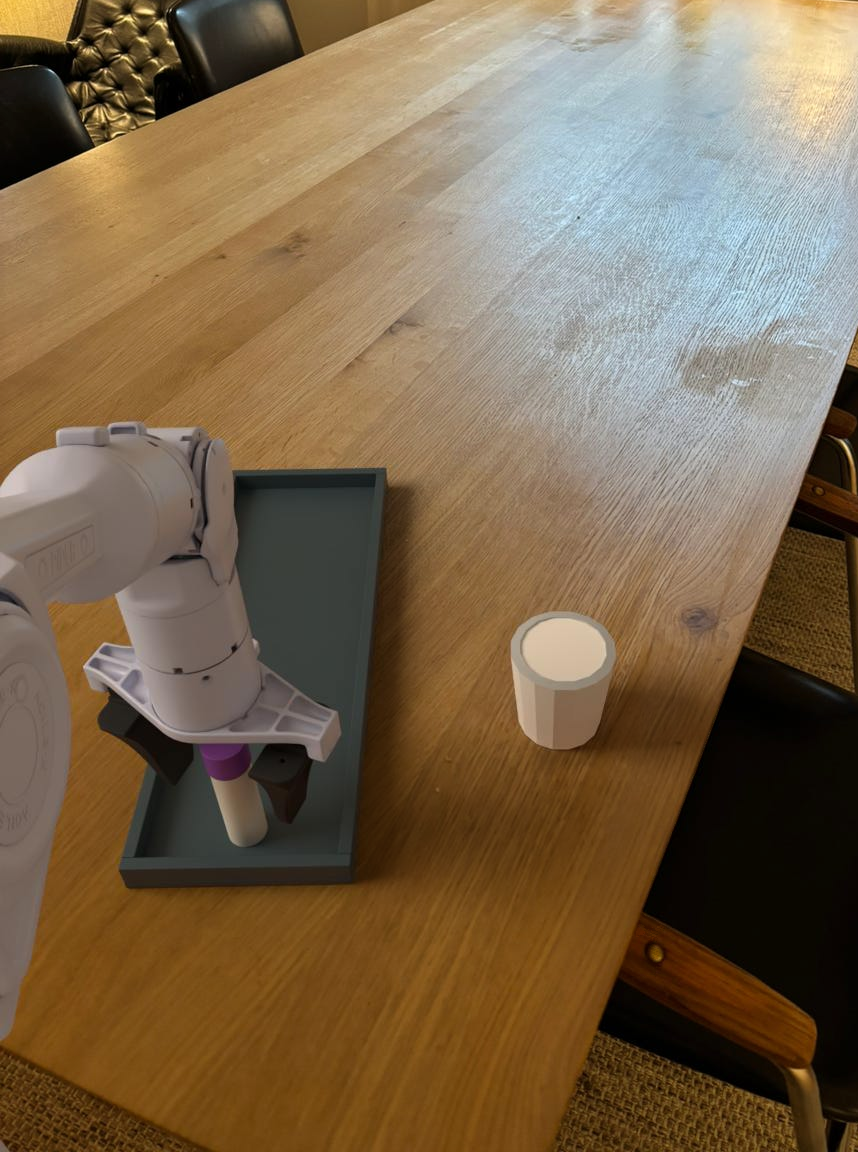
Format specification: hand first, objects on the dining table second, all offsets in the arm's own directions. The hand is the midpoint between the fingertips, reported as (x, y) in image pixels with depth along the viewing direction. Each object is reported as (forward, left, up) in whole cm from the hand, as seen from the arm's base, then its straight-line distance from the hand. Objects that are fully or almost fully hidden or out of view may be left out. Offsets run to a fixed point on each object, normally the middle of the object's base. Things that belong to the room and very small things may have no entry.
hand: (235, 789), depth 60 cm
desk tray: (+14, +6, -5) cm, 16 cm away
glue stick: (0, 0, -5) cm, 5 cm away
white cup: (+15, -15, -5) cm, 22 cm away
